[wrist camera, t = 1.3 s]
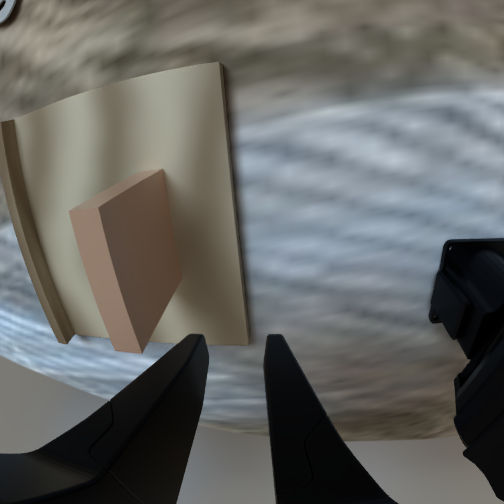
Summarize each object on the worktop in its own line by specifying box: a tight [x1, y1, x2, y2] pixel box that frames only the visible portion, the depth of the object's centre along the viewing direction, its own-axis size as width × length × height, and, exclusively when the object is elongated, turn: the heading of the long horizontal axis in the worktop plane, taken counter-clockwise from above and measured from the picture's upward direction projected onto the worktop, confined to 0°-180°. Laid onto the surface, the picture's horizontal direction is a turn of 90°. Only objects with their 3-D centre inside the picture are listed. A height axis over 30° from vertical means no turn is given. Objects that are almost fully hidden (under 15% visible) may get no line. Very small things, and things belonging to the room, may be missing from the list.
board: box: [0, 62, 250, 345], centre depth 19 cm, size 16×18×2 cm
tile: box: [69, 169, 182, 354], centre depth 15 cm, size 2×7×7 cm, turn 5°
